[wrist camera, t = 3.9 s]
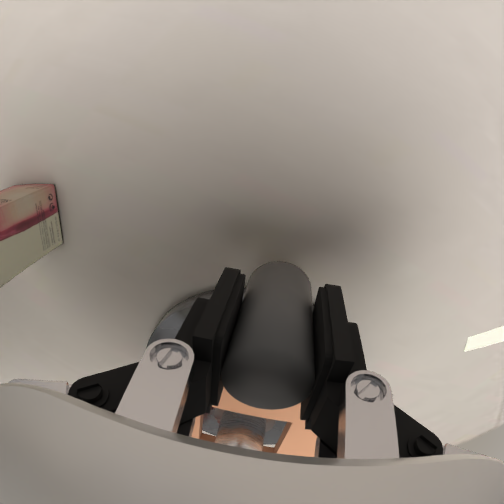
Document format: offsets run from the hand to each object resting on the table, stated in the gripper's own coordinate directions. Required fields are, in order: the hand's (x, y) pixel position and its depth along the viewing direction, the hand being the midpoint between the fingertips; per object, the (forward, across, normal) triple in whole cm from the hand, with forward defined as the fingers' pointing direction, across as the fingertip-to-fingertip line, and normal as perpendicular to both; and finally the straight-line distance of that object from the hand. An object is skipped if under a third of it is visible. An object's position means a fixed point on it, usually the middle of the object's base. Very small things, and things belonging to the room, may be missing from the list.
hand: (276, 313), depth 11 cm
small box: (+6, +17, 0) cm, 18 cm away
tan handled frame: (+3, 0, +8) cm, 9 cm away
